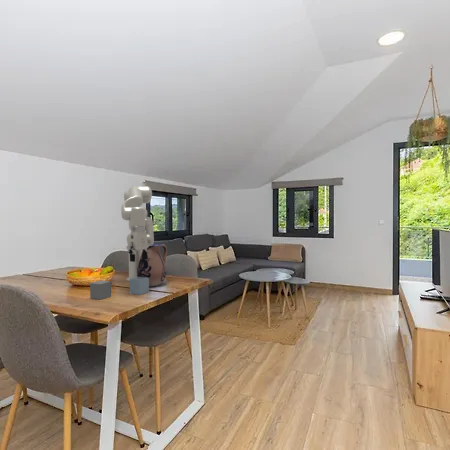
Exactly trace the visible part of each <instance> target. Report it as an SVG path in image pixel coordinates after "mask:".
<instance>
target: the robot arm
mask: <svg viewBox="0 0 450 450" xmlns="http://www.w3.org/2000/svg"><path fill="white" fill-rule="evenodd" d="M152 197H153V191H152V188H151V187H150V186H147V185H132V186H130V187H129V188H128V190H127V191H124V193H123V199H124V201H123V203H122V204H121V209H120V211H121V218H122V219H123V220H124V221H128V228H129V230H130V233H129V234H127V236H126V243H127V246H126V247H125V248H126V250H127V252H128V253H127V254H128V277H127V278H126V281H127V282H130V279H132V278H136V277H137V268H138V263H139V260H140V256H141V254H142V259H147V252H148V249H149V245H150V244H155V243H154V242H155V241H154V240H155V238H154V237H155V235H154V234H155V233H154V223H153V222H154V221H153V218H152V217H150V216H148V210H147V208H145V207H143V206H142V205H143V204H149V203H150V202H151V200H152ZM142 251H143V252H142Z"/></svg>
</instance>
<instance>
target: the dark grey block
mask: <svg viewBox="0 0 450 450" xmlns="http://www.w3.org/2000/svg"><path fill="white" fill-rule="evenodd" d="M89 293H90V294H89V297H90V299H91V300H99V301H101V300H105V299H107V298H108V299H109V298H111V297H112V281H109V280H108V281H107V280H98V281H93V282H90V283H89Z"/></svg>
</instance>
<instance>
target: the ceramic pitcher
mask: <svg viewBox="0 0 450 450" xmlns="http://www.w3.org/2000/svg"><path fill="white" fill-rule="evenodd" d="M161 248H163V250H164V252H163V255H162V252H161ZM141 251H142V250H141ZM142 252H143V251H142ZM167 257H168V247H167V245H166V244H165V243H153V244H150V245H149V249H148V252H147V259H142V254H141V256H140V260H139V263H138V268H137V277H147V278H149V287H157V286H160V285H161V284H162V283H163V282H164V281H165V279H166V276H167V268H166V265H165V264H166V261H167Z"/></svg>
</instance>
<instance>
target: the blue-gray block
mask: <svg viewBox="0 0 450 450" xmlns="http://www.w3.org/2000/svg"><path fill="white" fill-rule="evenodd" d="M149 292H150V286H149V278H147V277H136V278H132V279H130V281H129V294H130V295H139V296H141V295H143V294H147V293H149Z"/></svg>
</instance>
